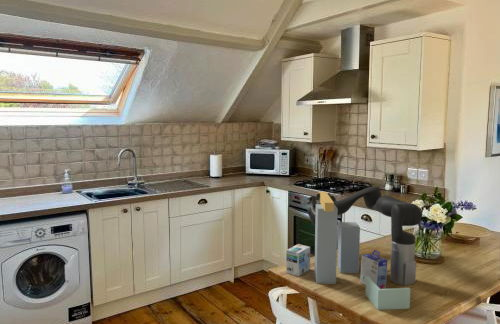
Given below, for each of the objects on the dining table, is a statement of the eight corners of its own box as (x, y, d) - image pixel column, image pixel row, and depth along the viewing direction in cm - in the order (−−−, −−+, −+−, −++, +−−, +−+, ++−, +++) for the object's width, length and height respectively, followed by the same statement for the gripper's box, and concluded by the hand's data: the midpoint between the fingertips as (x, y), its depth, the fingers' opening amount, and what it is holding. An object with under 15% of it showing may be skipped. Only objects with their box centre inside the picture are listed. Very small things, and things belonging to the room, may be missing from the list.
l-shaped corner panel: (409, 308, 145) (410, 288, 144) (377, 309, 144) (378, 290, 143) (395, 293, 157) (395, 275, 156) (365, 294, 156) (366, 276, 155)
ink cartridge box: (387, 288, 161) (388, 254, 160) (377, 291, 159) (378, 256, 157) (369, 279, 170) (370, 247, 168) (359, 282, 168) (360, 249, 166)
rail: (318, 199, 180) (318, 191, 180) (326, 199, 180) (326, 191, 179) (324, 211, 158) (324, 202, 158) (333, 211, 158) (333, 202, 158)
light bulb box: (298, 276, 174) (298, 253, 172) (285, 273, 178) (285, 249, 176) (310, 269, 182) (310, 246, 181) (297, 265, 186) (298, 243, 185)
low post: (337, 265, 185) (338, 222, 183) (354, 266, 185) (356, 222, 182) (340, 272, 178) (341, 227, 175) (358, 273, 177) (360, 227, 174)
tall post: (314, 275, 175) (315, 204, 171) (332, 275, 174) (334, 204, 170) (316, 283, 167) (317, 208, 163) (335, 283, 166) (337, 208, 162)
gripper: (304, 198, 191) (307, 186, 175) (334, 198, 191) (340, 187, 175) (305, 213, 188) (308, 203, 173) (335, 214, 188) (341, 203, 172)
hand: (324, 195), depth 174 cm, fingers closed on rail, 3 cm apart
